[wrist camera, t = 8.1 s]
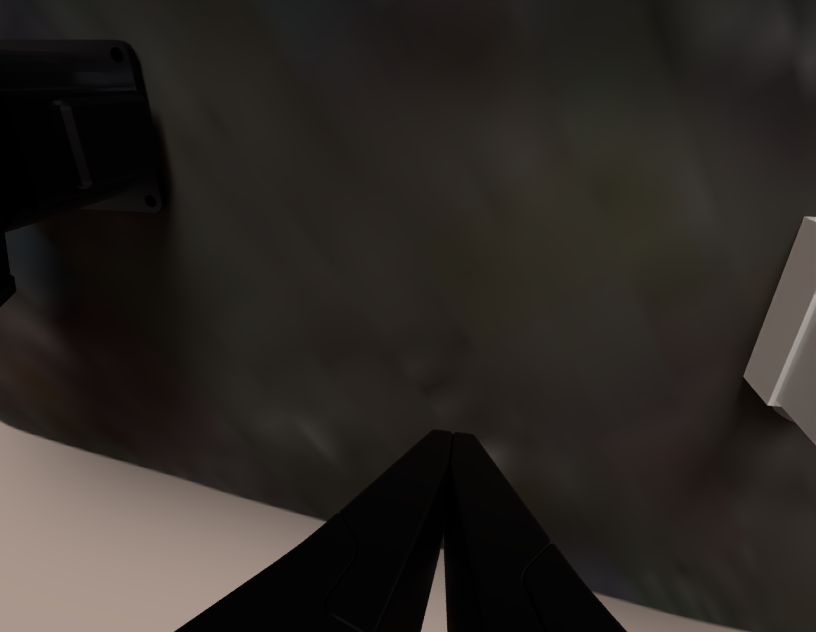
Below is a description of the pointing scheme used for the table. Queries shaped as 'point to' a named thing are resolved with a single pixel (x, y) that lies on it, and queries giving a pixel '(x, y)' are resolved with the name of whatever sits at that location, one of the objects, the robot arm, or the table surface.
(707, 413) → the table surface
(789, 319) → the trolley
